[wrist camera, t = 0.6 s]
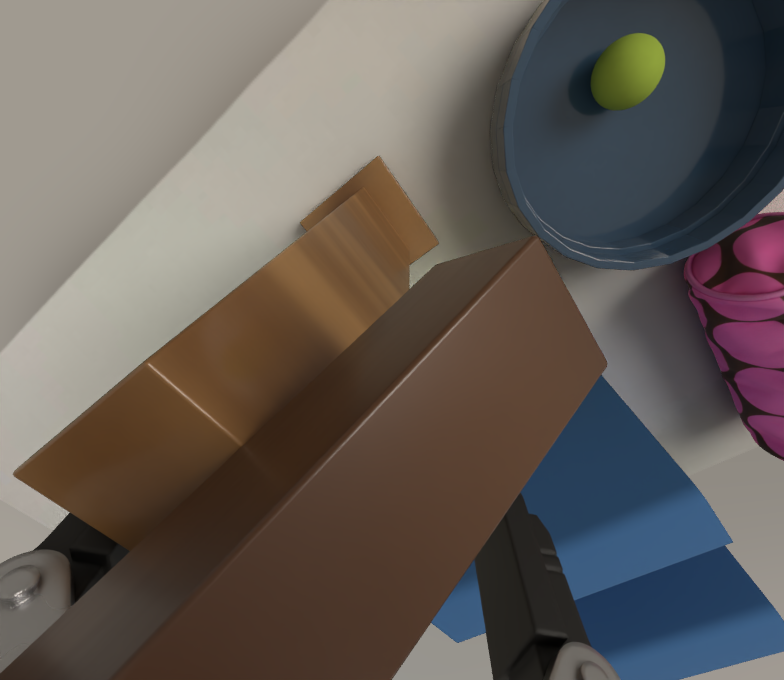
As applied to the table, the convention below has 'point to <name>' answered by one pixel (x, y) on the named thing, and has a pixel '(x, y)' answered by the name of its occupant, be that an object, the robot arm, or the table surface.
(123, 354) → the table surface
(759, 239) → the pencil case
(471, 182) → the table surface
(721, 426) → the table surface
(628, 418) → the block
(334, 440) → the stick
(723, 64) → the bowl
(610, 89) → the grape
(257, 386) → the stand
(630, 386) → the table surface
